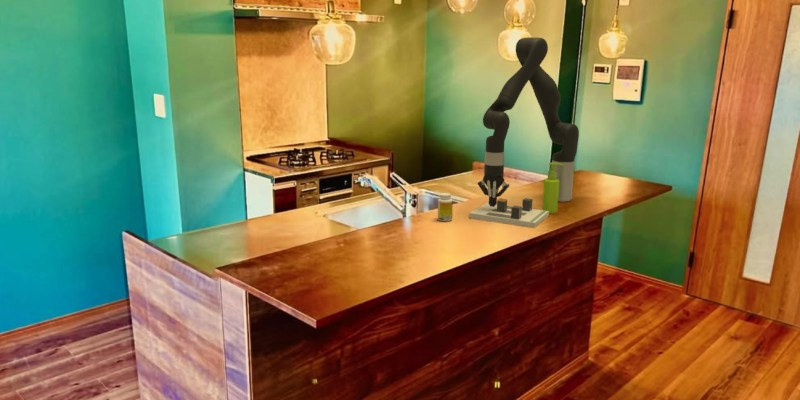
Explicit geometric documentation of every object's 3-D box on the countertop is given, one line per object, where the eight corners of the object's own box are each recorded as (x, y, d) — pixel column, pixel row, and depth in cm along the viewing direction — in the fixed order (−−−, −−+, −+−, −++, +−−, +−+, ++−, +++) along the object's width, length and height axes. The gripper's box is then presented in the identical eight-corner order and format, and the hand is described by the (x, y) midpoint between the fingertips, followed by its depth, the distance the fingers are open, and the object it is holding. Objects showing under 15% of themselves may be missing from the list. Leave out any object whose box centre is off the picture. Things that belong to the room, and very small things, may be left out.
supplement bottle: (454, 221, 214) (455, 195, 211) (441, 222, 212) (441, 196, 209) (448, 217, 219) (449, 191, 216) (435, 218, 217) (435, 193, 215)
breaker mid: (499, 208, 222) (499, 198, 221) (506, 209, 220) (507, 199, 219) (496, 210, 219) (497, 199, 218) (504, 211, 218) (504, 200, 217)
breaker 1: (513, 215, 213) (514, 205, 212) (521, 216, 211) (521, 206, 210) (510, 217, 210) (511, 207, 209) (518, 218, 209) (519, 208, 208)
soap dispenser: (560, 214, 223) (563, 164, 218) (542, 213, 224) (545, 164, 219) (559, 210, 229) (562, 161, 224) (541, 209, 230) (545, 161, 225)
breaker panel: (486, 207, 233) (486, 202, 232) (548, 216, 220) (548, 210, 220) (469, 217, 218) (469, 212, 217) (534, 227, 205) (534, 222, 205)
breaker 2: (524, 207, 223) (525, 198, 222) (531, 208, 222) (532, 199, 221) (522, 209, 221) (522, 199, 220) (529, 210, 219) (530, 200, 218)
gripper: (513, 163, 217) (511, 206, 222) (482, 160, 224) (480, 201, 228) (507, 166, 211) (505, 210, 215) (474, 163, 218) (473, 206, 222)
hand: (492, 206), depth 222 cm, fingers closed
